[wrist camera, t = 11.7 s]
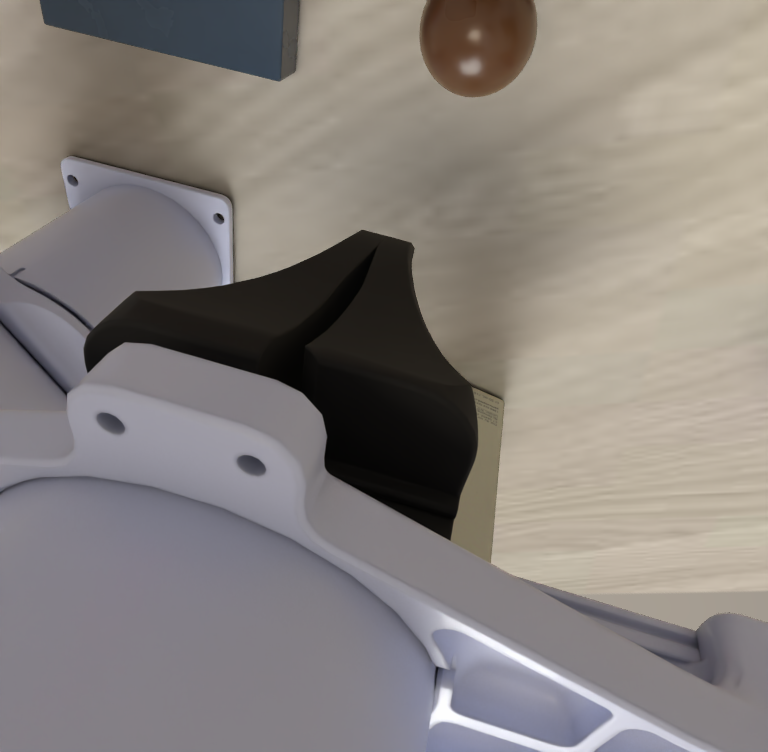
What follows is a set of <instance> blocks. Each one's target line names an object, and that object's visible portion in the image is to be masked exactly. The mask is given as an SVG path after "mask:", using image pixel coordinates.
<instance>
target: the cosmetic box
mask: <svg viewBox="0 0 768 752" xmlns="http://www.w3.org/2000/svg"><path fill="white" fill-rule="evenodd" d="M472 389H473V393H474V399H475V405H476V412H477V420H478V450H477V455H476V459H475V462H474V464H473V467H472V469H471V471H470V474H469V476H468V478H467V481H466V483H465V486H464V488H463V490H462V493H461V495H460V501H459V507H458V512H457V515H456V518H455V519H454V523H453V529H452V535H451V542H453V543H455V544H457V545H458V546H460V547H462V548H464V549H466V550H467V551H469V552H471V553H473V554H475V555H477V556H478V557H480V558H482V559H484V560H486V561H487V562H489V563H491V554H492V543H493V531H494V519H495V506H496V495H497V484H498V472H499V460H500V448H501V437H502V426H503V414H504V401H503V400H501V399H498V398H496V397H494V396H491V395H489V394H487V393H485V392H482V391H480V390H478V389H475V388H473V387H472Z"/></svg>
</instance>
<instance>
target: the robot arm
mask: <svg viewBox="0 0 768 752" xmlns="http://www.w3.org/2000/svg"><path fill="white" fill-rule="evenodd" d="M61 170H62V175H63V179H64V184H65V189H66V193H67V198H68V202H69V207H70V210H69V211H67V212H66V213H64V214H62V215H61V216H59V217H58V218H56V219H54V220H53V221H51V222H50V223H48V224H46V225H45V226H43V227H42V228H40V229H38V230H37V231H35V232H33V233H32V234H30V235H29V236H27V237H25V238H24V239H22V240H21V241H19V242H17V243H16V244H14V245H13V246H11V247H9V248H8V249H6V250H5V251H3V252H1V253H0V752H768V622H764V621H761V620H758V619H754V618H751V617H748V616H744V615H741V614H735V613H720V614H716V615H714V616H712V617H710V618H708V619H707V620H706V621H705V622H704V623H702V624H701V626H700V627H699V628H698V629H697V631H694V630H691V629H688V628H685V627H681V626H678V625H675V624H671V623H668V622H665V621H661V620H658V619H654V618H651V617H648V616H645V615H642V614H638V613H635V612H632V611H628V610H625V609H622V608H618V607H615V606H612V605H609V604H605V603H602V602H599V601H595V600H592V599H589V598H586V597H582V596H579V595H576V594H572V593H569V592H566V591H562V590H559V589H556V588H553V587H549V586H546V585H543V584H539V583H536V582H533V581H529V580H526V579H523V578H520V577H516V576H513V575H511V574H509V573H507V572H505V571H504V570H502V569H500V568H498V567H496V566H495V565H493V564H491V563H489V562H487V561H486V560H484V559H482V558H480V557H478V556H477V555H475V554H473V553H471V552H469V551H467V550H466V549H464V548H462V547H460V546H458V545H457V544H455V543H453V542H451V535H452V529H453V523H454V519H455V518H456V515H457V512H458V507H459V501H460V495H461V493H462V490H463V488H464V486H465V483H466V481H467V478H468V476H469V474H470V471H471V469H472V467H473V464H474V462H475V459H476V455H477V450H478V420H477V412H476V405H475V399H474V393H473V389H472V386H471V385H470V384H469V383H468V382H467V381H466V380H465V379H464V378H463V377H462V376H461V375H460V374H459V373H458V372H457V371H456V370H455V369H454V368H453V367H452V366H451V365H450V364H449V362H448V361H447V360H446V359H445V357H444V356H443V355H442V353H441V352H440V350H439V349H438V347H437V346H436V344H435V342H434V341H433V339H432V337H431V335H430V333H429V331H428V329H427V327H426V324H425V322H424V320H423V317H422V314H421V312H420V308H419V305H418V301H417V298H416V294H415V289H414V283H413V276H412V258H413V253H414V249H415V248H414V246H413V245H412V243H411V242H407V241H403V240H399V239H396V238H392V237H388V236H384V235H380V234H377V233H373V232H369V231H365V230H361V231H359V232H357V233H355V234H354V235H352V236H350V237H348V238H347V239H345V240H343V241H341V242H340V243H338V244H336V245H334V246H333V247H331V248H329V249H327V250H325V251H323V252H321V253H320V254H318V255H315V256H313V257H311V258H309V259H307V260H304V261H302V262H300V263H298V264H296V265H293V266H291V267H289V268H286V269H283V270H281V271H278V272H275V273H272V274H268V275H265V276H262V277H259V278H255V279H250V280H246V281H241V282H236V283H233V214H232V204H231V202H230V200H229V199H228V198H227V197H226V196H224V195H222V194H218V193H214V192H210V191H206V190H202V189H198V188H195V187H191V186H187V185H183V184H179V183H175V182H171V181H167V180H163V179H160V178H156V177H152V176H148V175H144V174H140V173H136V172H132V171H129V170H125V169H121V168H117V167H113V166H109V165H105V164H101V163H97V162H94V161H90V160H86V159H82V158H78V157H74V156H69V157H67V158H65V159H63V160H62V161H61ZM73 176H75V178H76V179H77V180H78V182H76V181H75V180H74V178H73ZM217 213H219V214H221V215H222V216H223V217H224V221H223V220H221V219H219V217H218V216H217Z"/></svg>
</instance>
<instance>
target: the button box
mask: <svg viewBox="0 0 768 752" xmlns="http://www.w3.org/2000/svg"><path fill="white" fill-rule="evenodd" d="M40 4H41V9H42V14H43V19H44V23H45V24H46V25H49V26H54V27H58V28H62V29H66V30H70V31H74V32H78V33H82V34H86V35H90V36H95V37H99V38H103V39H107V40H111V41H115V42H119V43H123V44H127V45H131V46H136V47H140V48H144V49H148V50H152V51H156V52H160V53H164V54H168V55H173V56H177V57H181V58H185V59H189V60H193V61H197V62H201V63H205V64H209V65H214V66H218V67H222V68H226V69H230V70H234V71H238V72H242V73H246V74H250V75H255V76H259V77H263V78H267V79H271V80H275V81H281V80H283V79H285V78H286V77H288V76H289V75H291V74H292V73H294V72H295V71H296V53H297V35H298V17H299V0H40Z"/></svg>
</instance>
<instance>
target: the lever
mask: <svg viewBox="0 0 768 752" xmlns="http://www.w3.org/2000/svg"><path fill="white" fill-rule="evenodd" d="M536 34H537V12H536V7H535V3H534V0H427V2H426V5H425V7H424V10H423V13H422V17H421V23H420V46H421V52H422V56H423V59H424V62H425V64H426V66H427V68H428V70H429V72H430V73H431V75H432V76H433V77H434V79H435V80H436V81H437V82H438V83H439V84H440V85H441V86H443V87H444V88H445V89H447V90H448V91H450V92H452V93H455V94H457V95H460V96H465V97H481V96H486V95H490V94H492V93H495V92H497V91H499V90H501V89H503V88H504V87H506V86H507V85H508V84H510V83H511V82H512V81H513V80H514V79H515V78H516V77H517V76H518V75H519V73H520V72H521V71H522V70H523V68H524V67H525V65H526V63H527V61H528V60H529V58H530V55H531V53H532V50H533V47H534V44H535V40H536Z"/></svg>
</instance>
